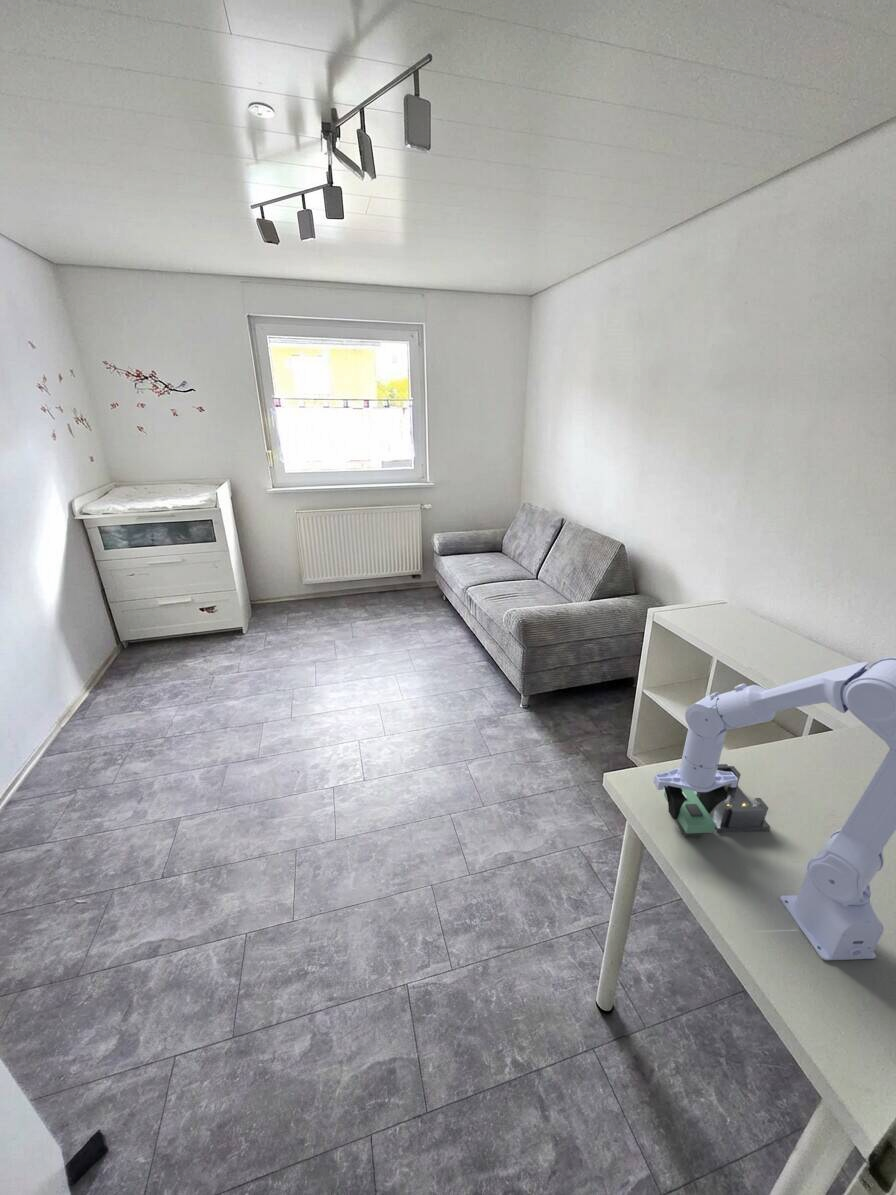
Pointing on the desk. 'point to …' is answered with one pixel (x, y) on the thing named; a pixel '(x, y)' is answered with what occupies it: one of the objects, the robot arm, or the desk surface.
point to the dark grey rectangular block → (685, 832)
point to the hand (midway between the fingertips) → (687, 814)
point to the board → (694, 815)
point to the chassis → (738, 809)
